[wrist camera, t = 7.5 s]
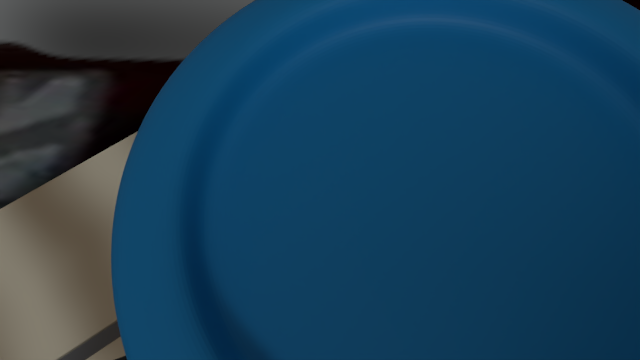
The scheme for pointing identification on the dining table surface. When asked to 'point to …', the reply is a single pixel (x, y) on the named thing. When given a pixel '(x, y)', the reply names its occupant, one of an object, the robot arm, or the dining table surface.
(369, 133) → the beverage bottle
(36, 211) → the birch board
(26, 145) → the dining table surface
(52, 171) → the dining table surface
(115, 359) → the robot arm
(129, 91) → the dining table surface
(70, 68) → the dining table surface
